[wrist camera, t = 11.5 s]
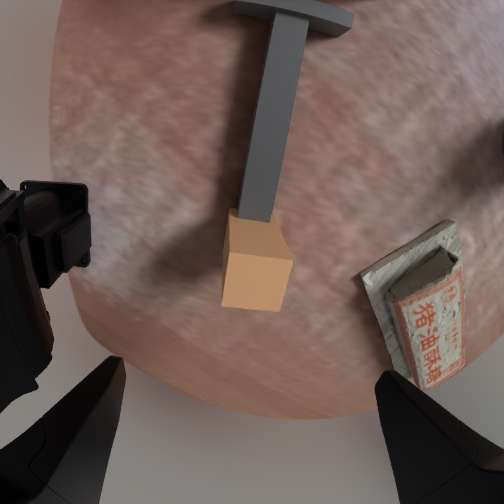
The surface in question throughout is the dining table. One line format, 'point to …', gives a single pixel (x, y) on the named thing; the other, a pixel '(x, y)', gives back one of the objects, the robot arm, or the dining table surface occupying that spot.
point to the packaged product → (422, 305)
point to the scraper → (270, 154)
